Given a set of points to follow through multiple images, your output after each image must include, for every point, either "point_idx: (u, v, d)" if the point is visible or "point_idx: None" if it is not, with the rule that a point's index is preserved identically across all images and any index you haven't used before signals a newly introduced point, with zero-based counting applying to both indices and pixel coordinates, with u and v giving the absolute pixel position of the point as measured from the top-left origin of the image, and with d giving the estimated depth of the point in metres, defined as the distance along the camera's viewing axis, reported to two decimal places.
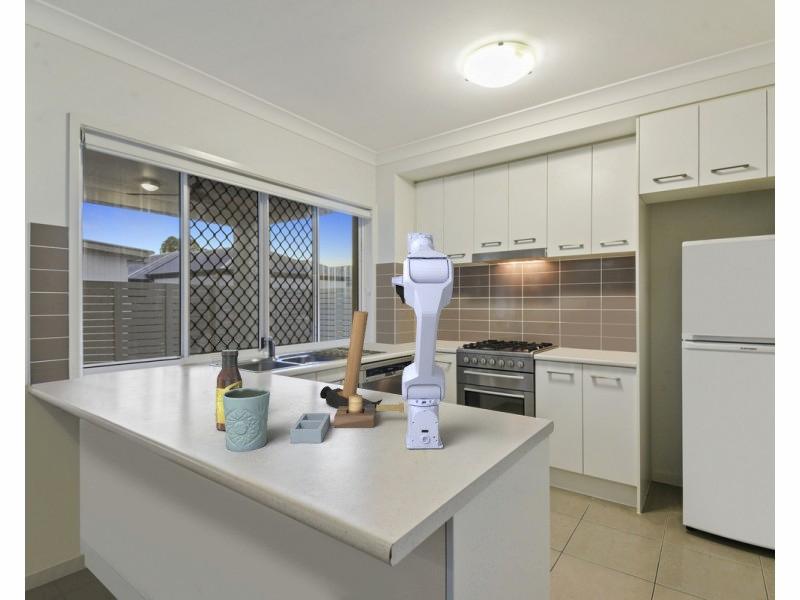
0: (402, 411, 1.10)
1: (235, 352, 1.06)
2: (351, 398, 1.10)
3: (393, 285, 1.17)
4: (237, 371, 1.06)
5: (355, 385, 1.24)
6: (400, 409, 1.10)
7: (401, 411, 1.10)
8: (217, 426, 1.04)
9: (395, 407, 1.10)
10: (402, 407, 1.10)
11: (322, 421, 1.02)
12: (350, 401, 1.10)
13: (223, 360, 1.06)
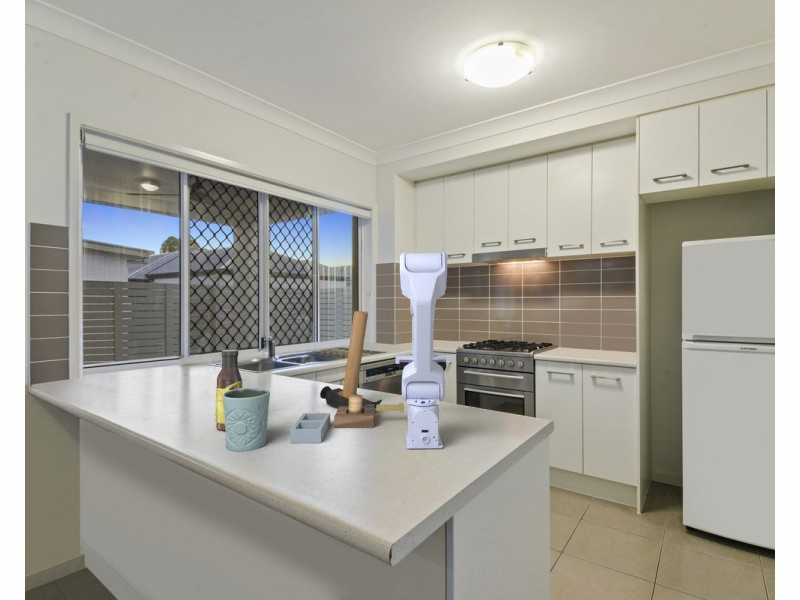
0: (402, 411, 1.10)
1: (235, 352, 1.06)
2: (351, 398, 1.10)
3: (397, 361, 1.10)
4: (237, 371, 1.06)
5: (355, 385, 1.24)
6: (400, 409, 1.10)
7: (401, 411, 1.10)
8: (217, 426, 1.04)
9: (395, 407, 1.10)
10: (402, 407, 1.10)
11: (322, 421, 1.02)
12: (350, 401, 1.10)
13: (223, 360, 1.06)
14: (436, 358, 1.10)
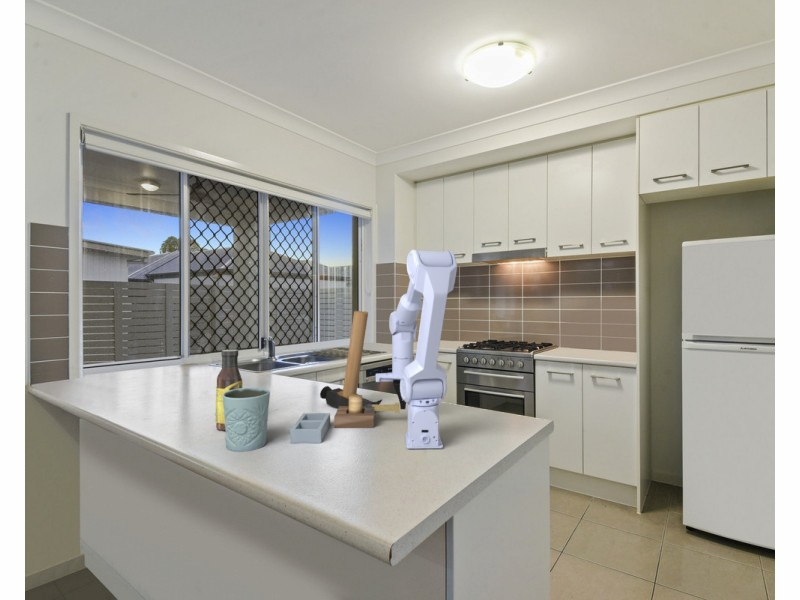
0: (398, 411, 1.10)
1: (235, 352, 1.06)
2: (351, 398, 1.10)
3: (377, 379, 1.10)
4: (237, 371, 1.06)
5: (355, 385, 1.24)
6: (396, 409, 1.10)
7: (397, 411, 1.10)
8: (217, 426, 1.04)
9: (391, 407, 1.10)
10: (398, 407, 1.10)
11: (322, 421, 1.02)
12: (350, 401, 1.10)
13: (223, 360, 1.06)
14: None
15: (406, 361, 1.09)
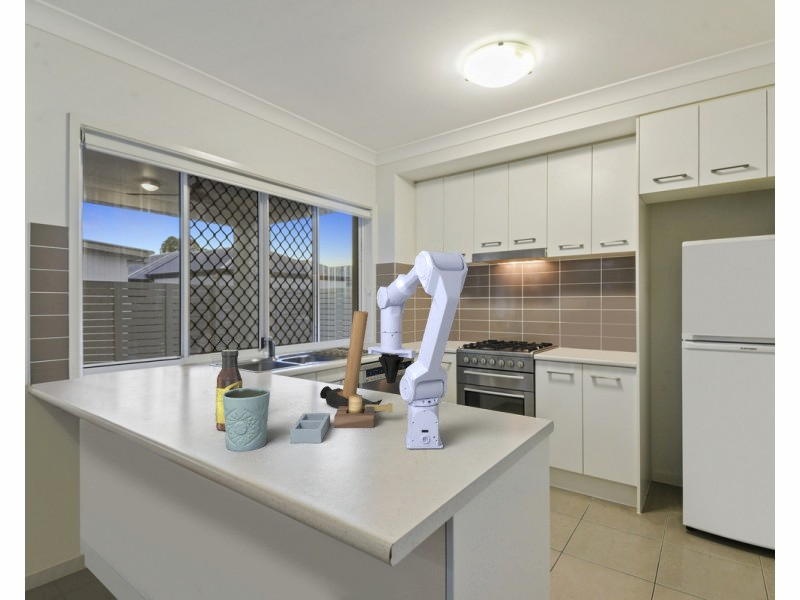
0: (390, 411, 1.10)
1: (235, 352, 1.06)
2: (351, 398, 1.10)
3: (369, 351, 1.15)
4: (237, 371, 1.06)
5: (355, 385, 1.24)
6: (388, 409, 1.10)
7: (389, 411, 1.10)
8: (217, 426, 1.04)
9: (383, 407, 1.10)
10: (390, 407, 1.10)
11: (322, 421, 1.02)
12: (350, 401, 1.10)
13: (223, 360, 1.06)
14: (397, 351, 1.08)
15: (387, 335, 1.09)
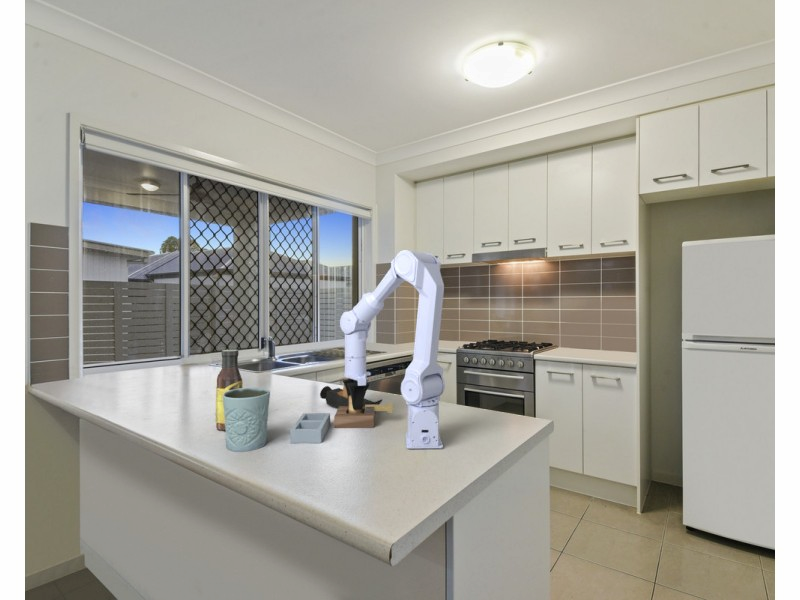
0: (390, 411, 1.10)
1: (235, 352, 1.06)
2: None
3: None
4: (237, 371, 1.06)
5: None
6: (388, 409, 1.10)
7: (389, 411, 1.10)
8: (217, 426, 1.04)
9: (383, 407, 1.10)
10: (390, 407, 1.10)
11: (322, 421, 1.02)
12: (350, 401, 1.10)
13: (223, 360, 1.06)
14: (351, 377, 1.07)
15: (346, 360, 1.09)
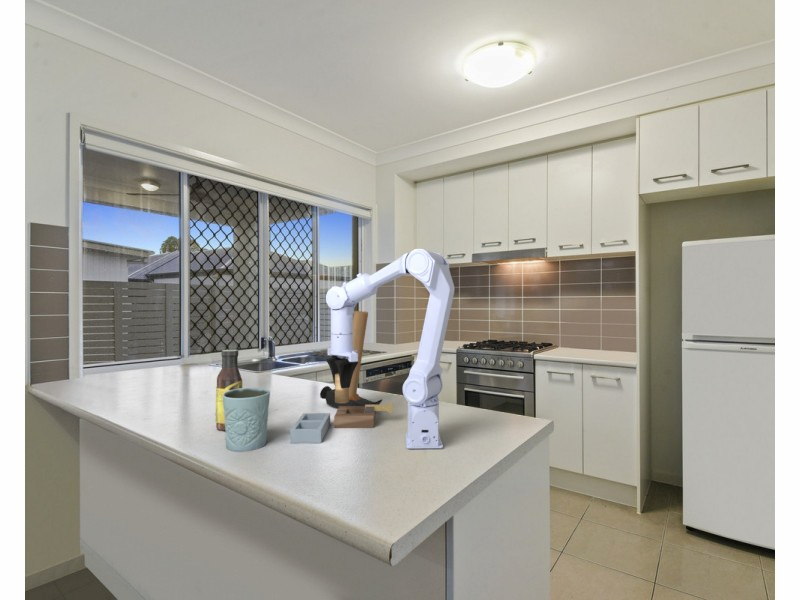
0: (390, 411, 1.10)
1: (235, 352, 1.06)
2: (338, 376, 1.06)
3: (328, 352, 1.12)
4: (237, 371, 1.06)
5: (355, 385, 1.24)
6: (388, 409, 1.10)
7: (389, 411, 1.10)
8: (217, 426, 1.04)
9: (383, 407, 1.10)
10: (390, 407, 1.10)
11: (322, 421, 1.02)
12: (337, 380, 1.06)
13: (223, 360, 1.06)
14: (340, 354, 1.03)
15: (333, 336, 1.05)
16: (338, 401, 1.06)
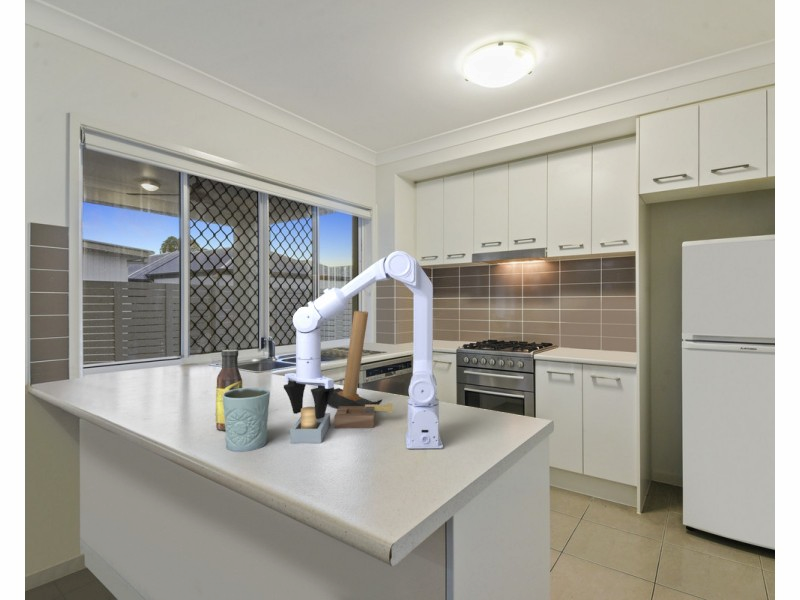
0: (390, 411, 1.10)
1: (235, 352, 1.06)
2: (307, 411, 0.97)
3: (285, 379, 1.02)
4: (237, 371, 1.06)
5: (355, 385, 1.24)
6: (388, 409, 1.10)
7: (389, 411, 1.10)
8: (217, 426, 1.04)
9: (383, 407, 1.10)
10: (390, 407, 1.10)
11: (322, 421, 1.02)
12: (306, 415, 0.97)
13: (223, 360, 1.06)
14: (312, 381, 0.95)
15: (302, 362, 0.96)
16: None
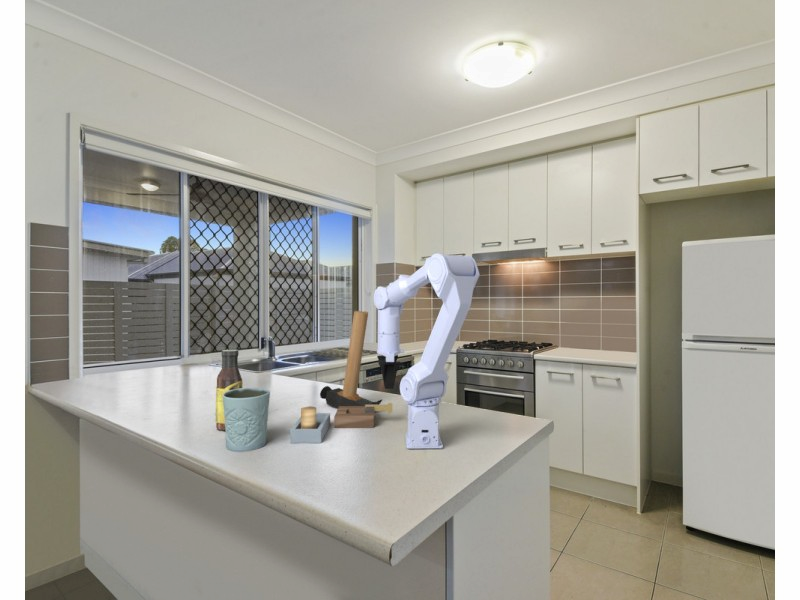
0: (390, 411, 1.10)
1: (235, 352, 1.06)
2: (307, 411, 0.97)
3: None
4: (237, 371, 1.06)
5: (355, 385, 1.24)
6: (388, 409, 1.10)
7: (389, 411, 1.10)
8: (217, 426, 1.04)
9: (383, 407, 1.10)
10: (390, 407, 1.10)
11: (322, 421, 1.02)
12: (306, 415, 0.97)
13: (223, 360, 1.06)
14: (381, 353, 1.05)
15: (378, 335, 1.07)
16: None
